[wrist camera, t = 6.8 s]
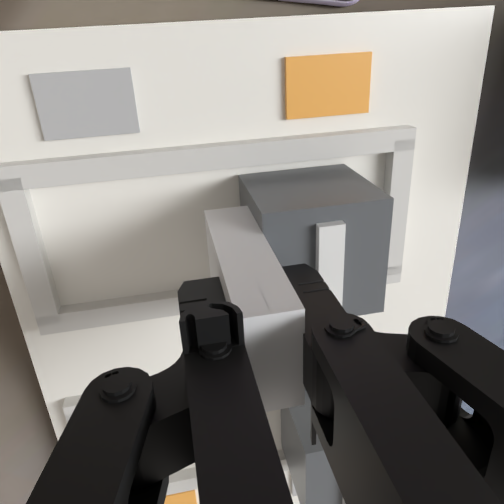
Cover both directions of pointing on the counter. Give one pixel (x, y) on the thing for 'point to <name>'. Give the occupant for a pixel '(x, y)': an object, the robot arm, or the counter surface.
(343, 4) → the smartphone
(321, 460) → the grey cube
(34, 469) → the counter surface
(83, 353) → the switch board
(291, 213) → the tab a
